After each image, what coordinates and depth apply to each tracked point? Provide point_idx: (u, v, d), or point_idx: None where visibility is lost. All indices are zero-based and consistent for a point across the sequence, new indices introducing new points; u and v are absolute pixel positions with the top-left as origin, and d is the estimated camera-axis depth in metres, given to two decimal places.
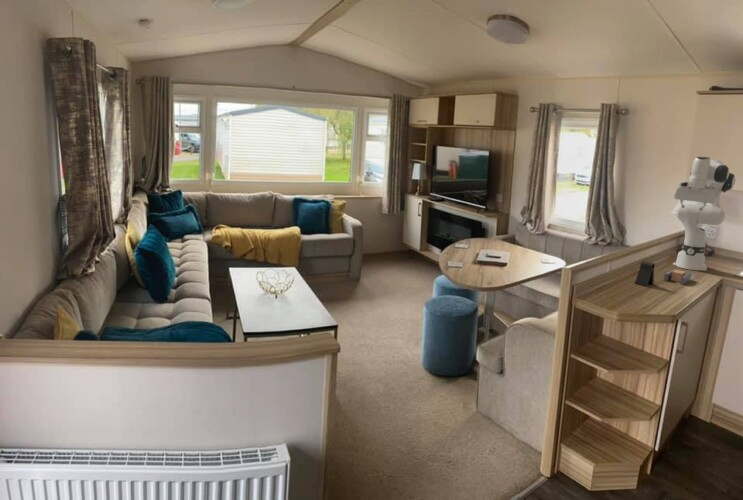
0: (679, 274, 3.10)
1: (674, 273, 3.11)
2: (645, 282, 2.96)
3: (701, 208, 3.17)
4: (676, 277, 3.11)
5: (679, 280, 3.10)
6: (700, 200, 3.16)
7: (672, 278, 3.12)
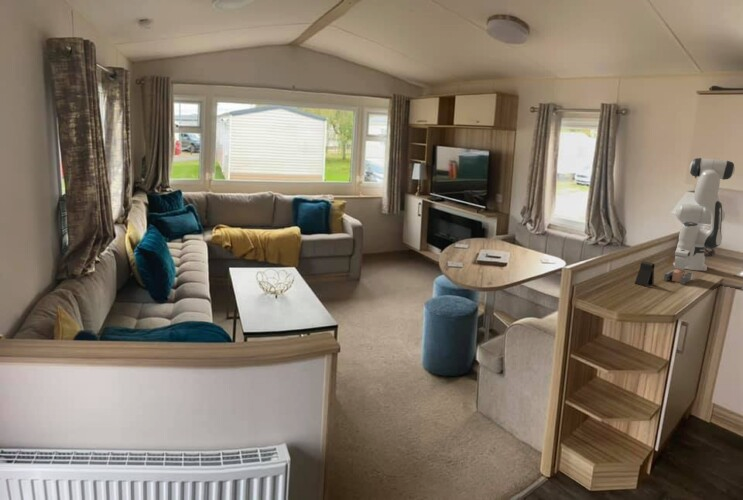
0: (680, 274, 3.09)
1: (675, 273, 3.10)
2: (645, 282, 2.96)
3: None
4: (677, 277, 3.10)
5: (680, 280, 3.09)
6: (687, 265, 3.18)
7: (673, 278, 3.11)
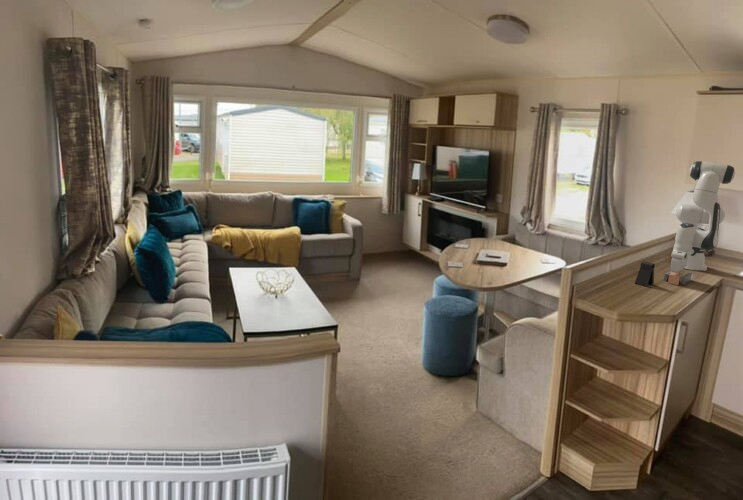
0: (676, 277, 3.03)
1: (671, 276, 3.04)
2: (645, 282, 2.96)
3: None
4: (673, 280, 3.04)
5: (676, 283, 3.03)
6: (684, 267, 3.12)
7: (669, 281, 3.05)
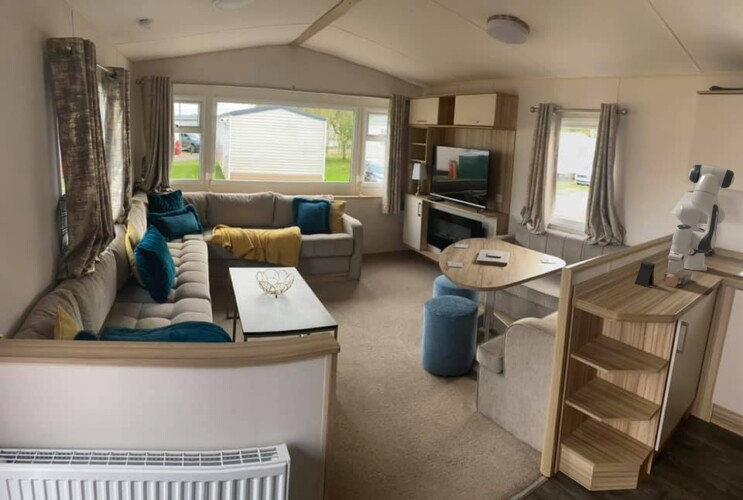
0: (673, 279, 2.98)
1: (668, 278, 2.99)
2: (645, 282, 2.96)
3: None
4: (670, 282, 2.99)
5: (673, 285, 2.98)
6: (681, 268, 3.07)
7: (666, 283, 3.00)
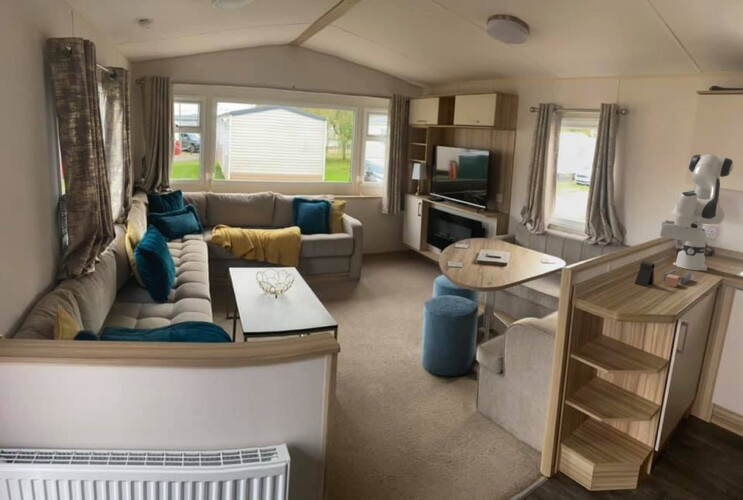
0: (672, 279, 2.98)
1: (667, 278, 3.00)
2: (645, 282, 2.96)
3: None
4: (669, 282, 2.99)
5: (672, 285, 2.99)
6: None
7: (665, 283, 3.01)
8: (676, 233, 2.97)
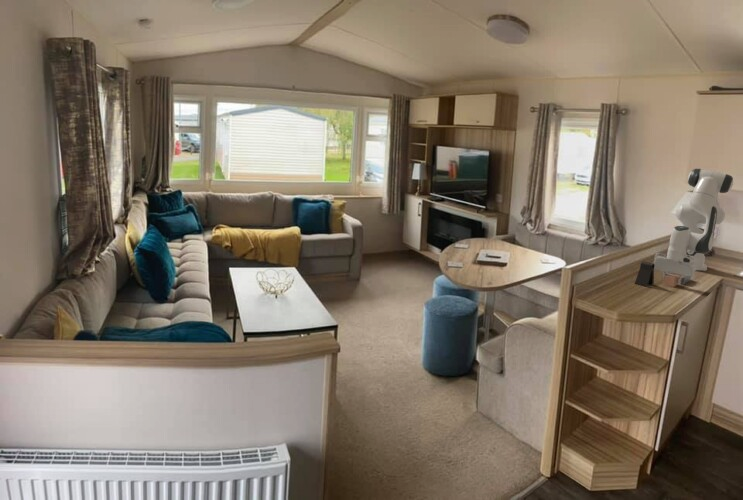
0: (671, 278, 2.98)
1: (666, 277, 3.00)
2: (645, 282, 2.96)
3: None
4: (668, 281, 3.00)
5: (671, 285, 2.99)
6: None
7: (664, 282, 3.01)
8: (669, 266, 3.01)
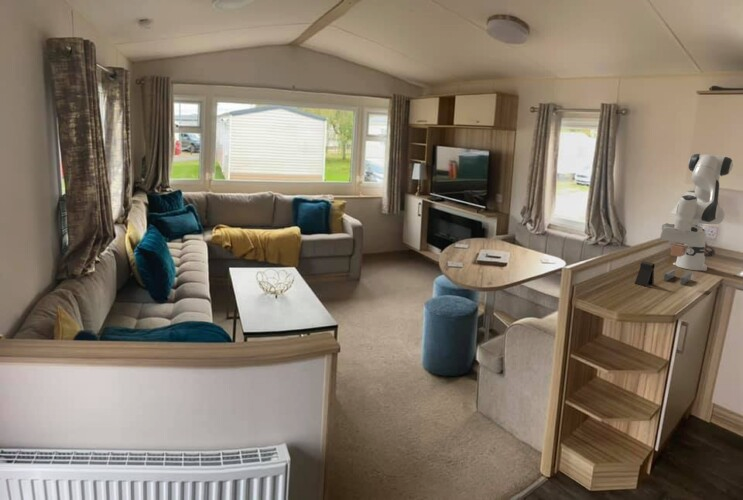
0: (679, 248, 2.98)
1: (673, 247, 2.99)
2: (645, 282, 2.96)
3: None
4: (675, 251, 2.99)
5: (678, 254, 2.98)
6: None
7: (671, 252, 3.00)
8: (676, 236, 3.00)
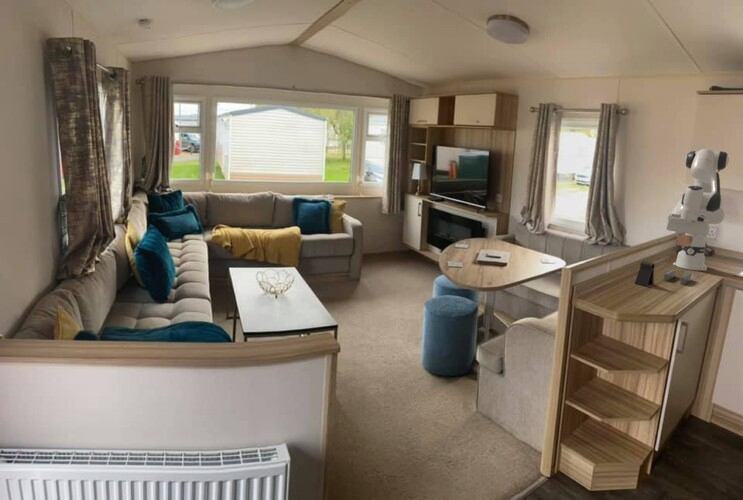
0: (685, 238, 3.00)
1: (680, 237, 3.02)
2: (645, 282, 2.96)
3: None
4: (682, 241, 3.01)
5: (685, 244, 3.00)
6: None
7: (678, 242, 3.03)
8: (683, 226, 3.03)
